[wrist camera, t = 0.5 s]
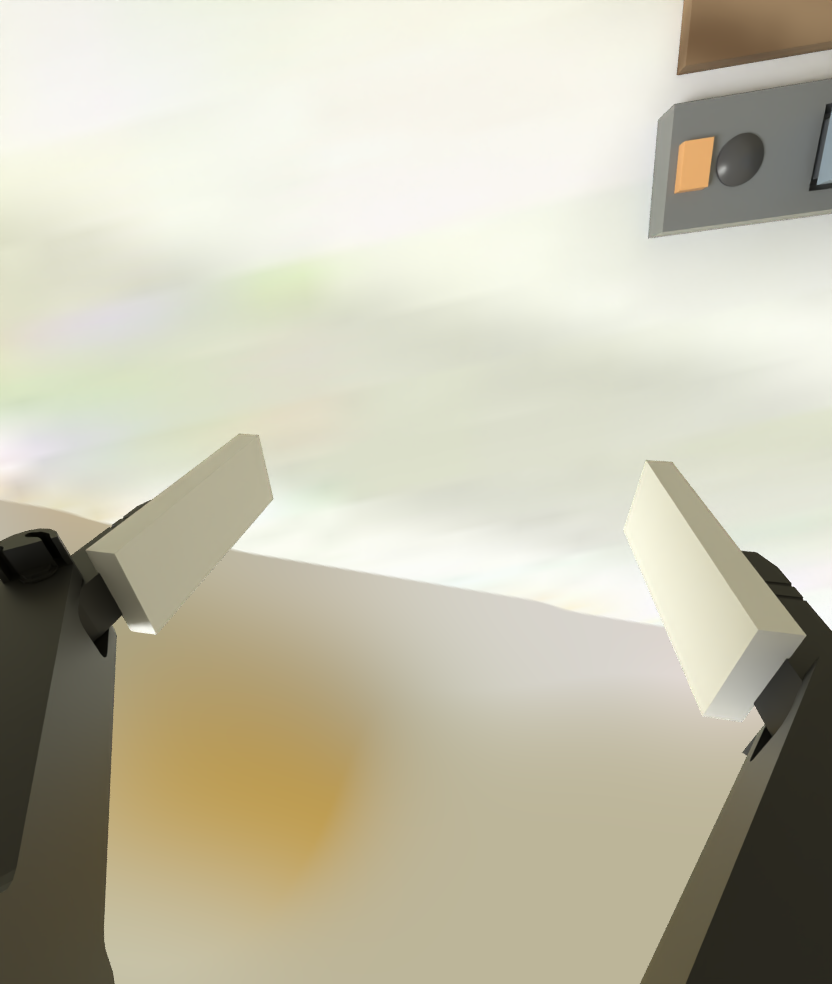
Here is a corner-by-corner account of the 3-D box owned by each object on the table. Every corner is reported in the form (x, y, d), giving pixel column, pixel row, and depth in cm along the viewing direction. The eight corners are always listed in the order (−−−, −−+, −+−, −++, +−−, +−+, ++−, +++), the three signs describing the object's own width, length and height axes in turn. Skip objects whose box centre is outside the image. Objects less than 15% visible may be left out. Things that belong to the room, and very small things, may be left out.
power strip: (645, 239, 35) (667, 230, 32) (654, 123, 32) (680, 98, 29) (874, 208, 33) (925, 195, 30) (906, 82, 31) (967, 51, 27)
